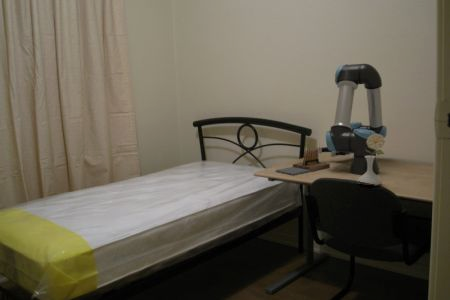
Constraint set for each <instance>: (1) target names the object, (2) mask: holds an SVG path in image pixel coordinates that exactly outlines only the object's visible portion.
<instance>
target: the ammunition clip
mask: <svg viewBox="0 0 450 300" xmlns="http://www.w3.org/2000/svg"><path fill="white" fill-rule="evenodd" d="M315 149H316V151H315ZM303 152H304V153H303V161H302V162H303V166H308V165H313V164H318V163H319V162H320V161H319V153H318V147H311V148H307V149H306V148H304V151H303Z"/></svg>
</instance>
